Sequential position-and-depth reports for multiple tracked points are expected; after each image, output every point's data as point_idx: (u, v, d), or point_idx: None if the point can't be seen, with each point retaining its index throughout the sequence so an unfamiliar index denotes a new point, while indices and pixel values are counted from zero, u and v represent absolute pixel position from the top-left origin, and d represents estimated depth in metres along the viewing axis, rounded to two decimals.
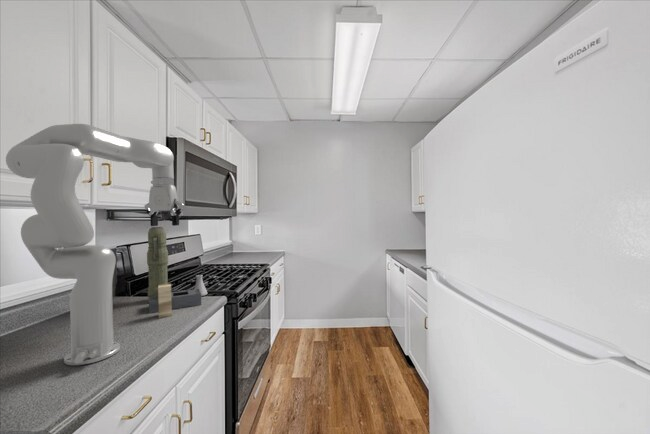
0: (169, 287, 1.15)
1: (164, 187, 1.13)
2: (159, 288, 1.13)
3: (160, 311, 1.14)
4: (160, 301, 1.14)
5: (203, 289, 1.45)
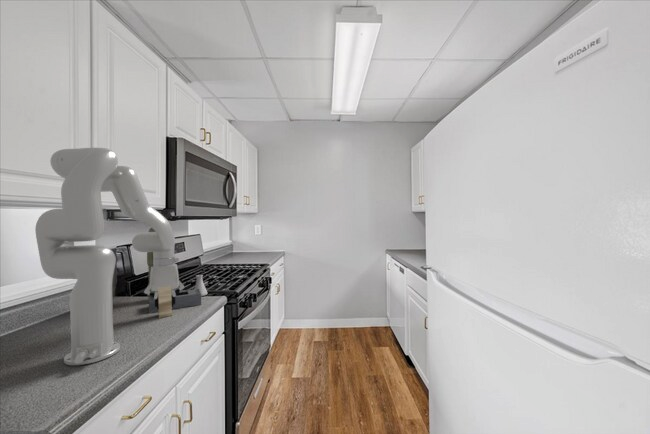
0: (169, 287, 1.15)
1: None
2: (159, 288, 1.14)
3: (160, 311, 1.14)
4: (160, 301, 1.14)
5: (203, 289, 1.45)
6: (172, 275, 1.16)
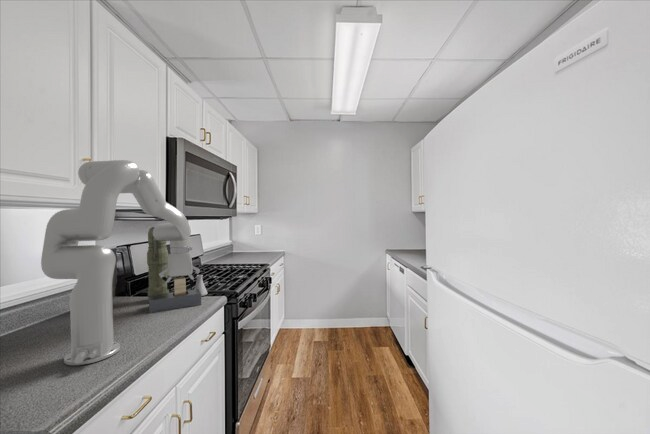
0: (184, 280, 1.28)
1: None
2: (175, 280, 1.27)
3: None
4: (176, 292, 1.27)
5: (203, 289, 1.44)
6: (187, 262, 1.29)
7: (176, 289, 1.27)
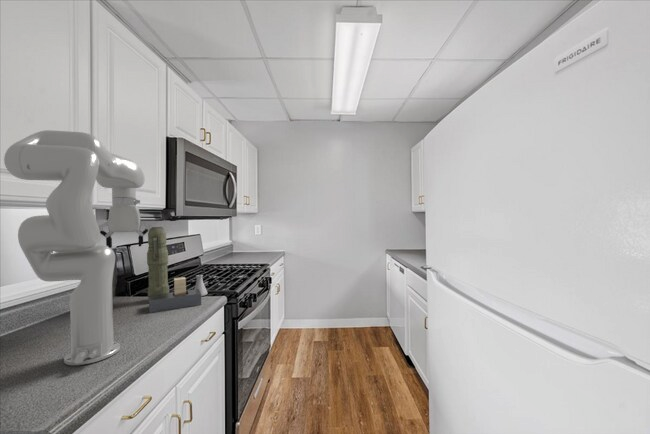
0: (184, 280, 1.28)
1: None
2: (175, 280, 1.27)
3: None
4: (176, 292, 1.27)
5: (203, 289, 1.44)
6: (132, 216, 1.11)
7: (176, 289, 1.27)
